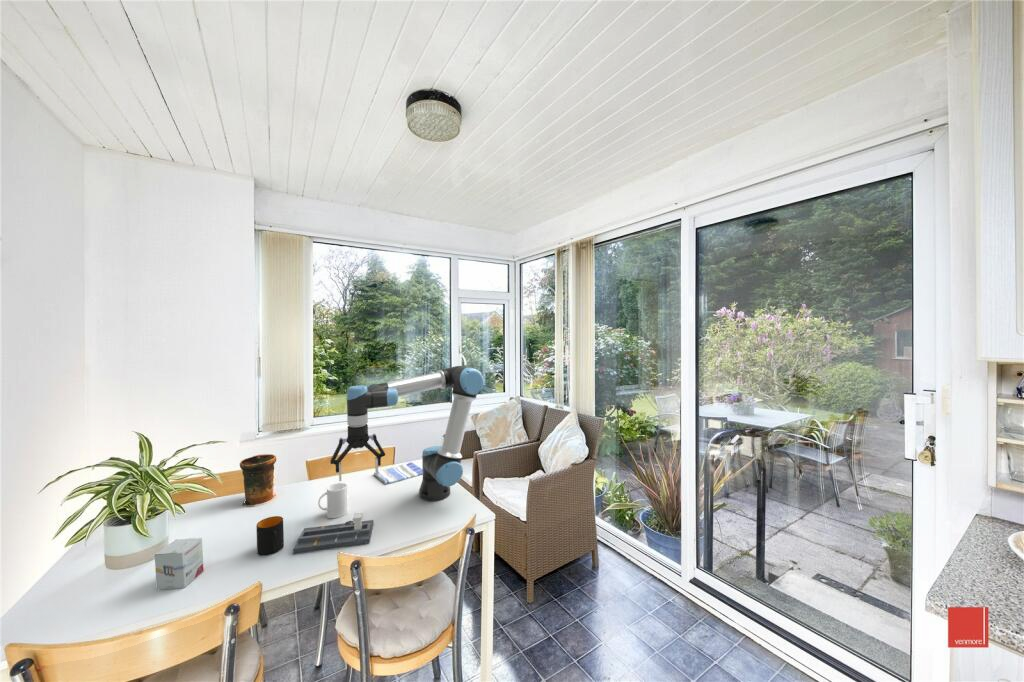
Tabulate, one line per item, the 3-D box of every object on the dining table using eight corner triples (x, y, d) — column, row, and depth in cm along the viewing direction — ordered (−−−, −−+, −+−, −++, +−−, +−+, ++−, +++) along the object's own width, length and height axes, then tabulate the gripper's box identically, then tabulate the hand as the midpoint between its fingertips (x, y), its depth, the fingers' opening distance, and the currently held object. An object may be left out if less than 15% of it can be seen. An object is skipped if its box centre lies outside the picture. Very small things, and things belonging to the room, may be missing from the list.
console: (373, 524, 153) (373, 517, 153) (369, 543, 139) (369, 535, 139) (304, 533, 146) (304, 525, 146) (293, 554, 133) (292, 545, 133)
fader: (362, 526, 147) (362, 512, 147) (361, 532, 143) (361, 517, 143) (354, 527, 146) (354, 513, 146) (353, 533, 142) (352, 518, 142)
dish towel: (372, 476, 203) (372, 471, 203) (412, 465, 218) (412, 461, 218) (384, 486, 190) (384, 481, 190) (426, 474, 205) (426, 469, 205)
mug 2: (319, 522, 154) (318, 494, 154) (317, 513, 162) (317, 487, 161) (349, 515, 160) (349, 488, 160) (346, 506, 168) (346, 481, 167)
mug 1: (263, 563, 128) (262, 534, 127) (254, 549, 136) (253, 522, 135) (290, 552, 134) (289, 525, 133) (280, 539, 142) (279, 513, 141)
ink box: (177, 572, 123) (176, 537, 123) (204, 570, 124) (203, 536, 124) (154, 590, 115) (153, 553, 114) (184, 588, 116) (182, 552, 115)
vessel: (279, 501, 172) (276, 459, 171) (241, 511, 164) (238, 467, 163) (278, 490, 184) (275, 451, 183) (242, 498, 176) (240, 457, 175)
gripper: (389, 418, 156) (389, 468, 157) (322, 426, 145) (324, 478, 146) (391, 423, 149) (392, 474, 150) (322, 431, 138) (323, 486, 139)
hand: (358, 476), depth 148 cm, fingers open, 13 cm apart
